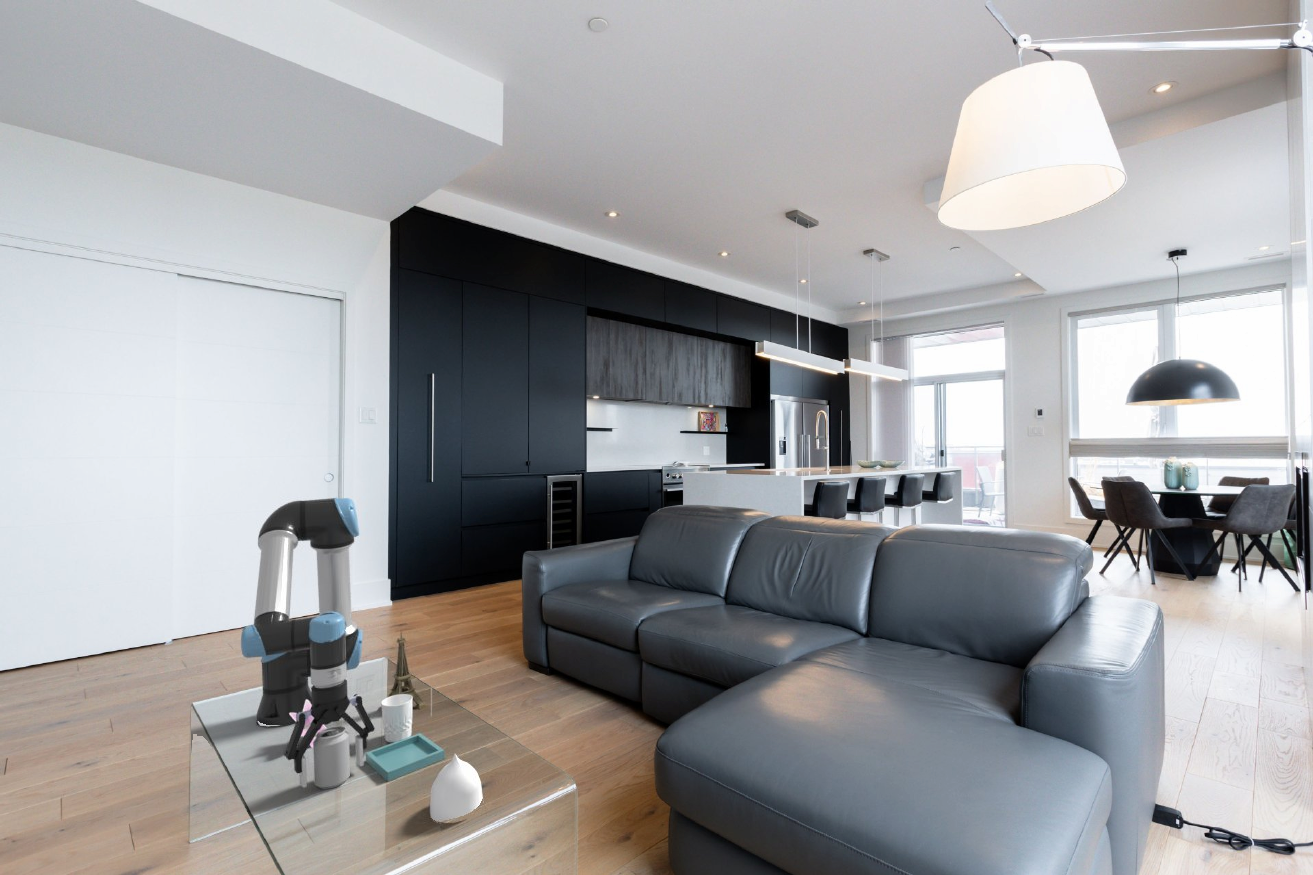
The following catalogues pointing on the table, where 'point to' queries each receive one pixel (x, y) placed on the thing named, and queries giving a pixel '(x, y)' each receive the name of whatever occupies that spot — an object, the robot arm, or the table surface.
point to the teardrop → (455, 791)
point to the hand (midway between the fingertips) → (332, 774)
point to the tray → (404, 756)
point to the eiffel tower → (404, 677)
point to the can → (331, 757)
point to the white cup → (397, 717)
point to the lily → (307, 724)
